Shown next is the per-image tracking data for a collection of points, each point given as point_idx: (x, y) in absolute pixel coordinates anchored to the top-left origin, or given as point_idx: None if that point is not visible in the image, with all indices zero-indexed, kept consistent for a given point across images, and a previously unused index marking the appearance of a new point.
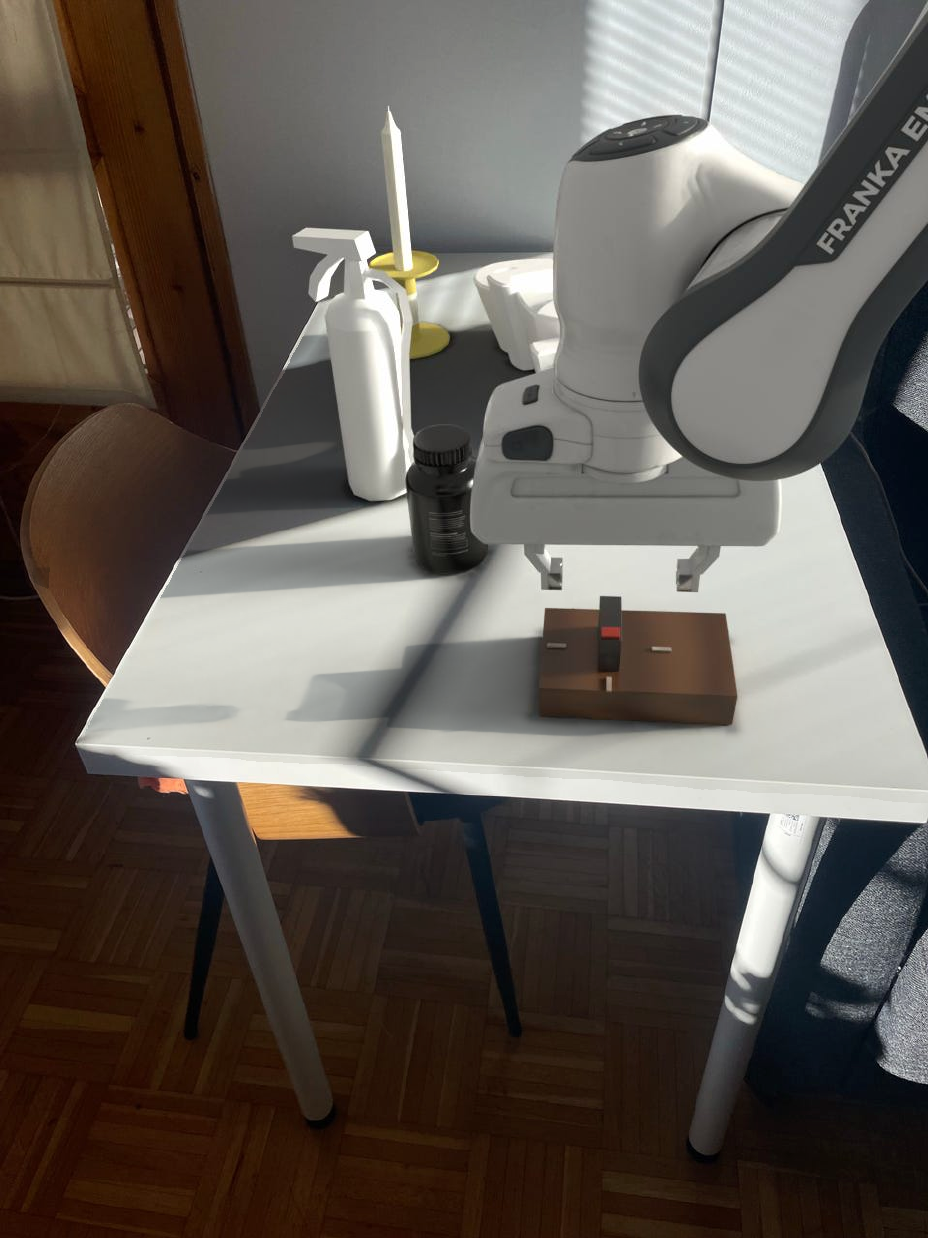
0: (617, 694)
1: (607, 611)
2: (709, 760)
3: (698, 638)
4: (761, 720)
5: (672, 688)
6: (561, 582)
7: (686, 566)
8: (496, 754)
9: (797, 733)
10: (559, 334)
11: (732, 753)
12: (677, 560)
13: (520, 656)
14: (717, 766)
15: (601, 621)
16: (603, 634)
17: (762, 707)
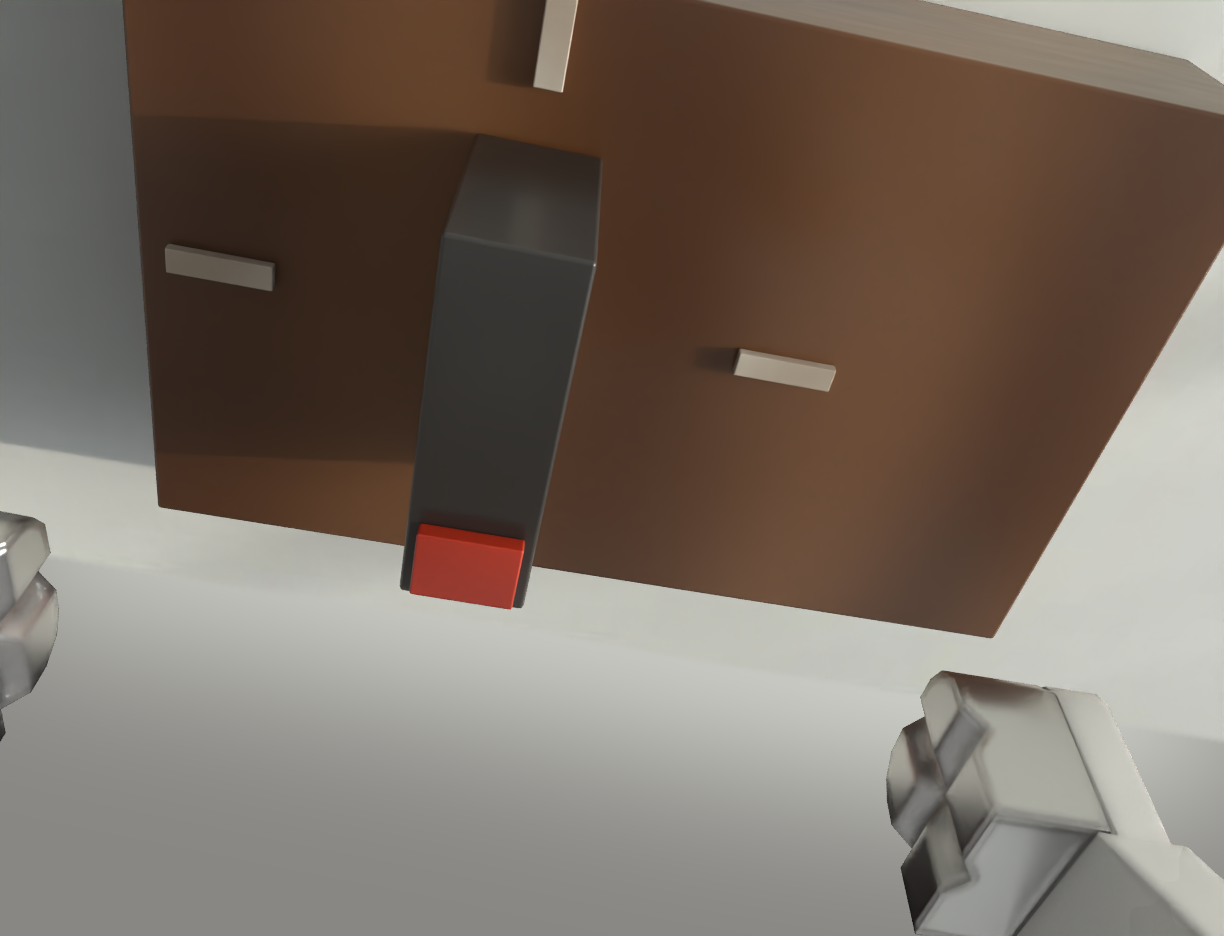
0: None
1: (475, 392)
2: (804, 633)
3: (1011, 316)
4: (1068, 518)
5: (748, 579)
6: (22, 668)
7: (1020, 883)
8: (75, 536)
9: (1153, 579)
10: None
11: None
12: (991, 810)
13: (78, 8)
14: (820, 653)
15: (426, 466)
16: (422, 584)
17: (1111, 467)
